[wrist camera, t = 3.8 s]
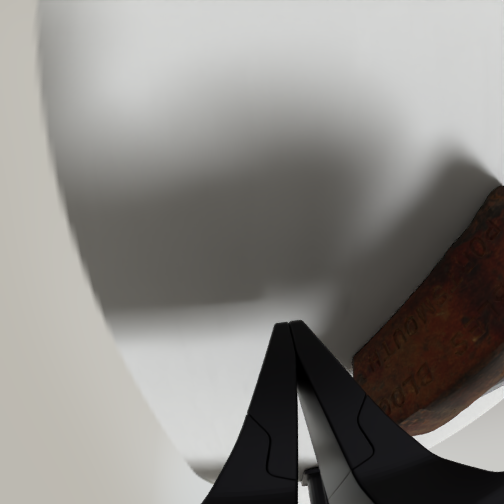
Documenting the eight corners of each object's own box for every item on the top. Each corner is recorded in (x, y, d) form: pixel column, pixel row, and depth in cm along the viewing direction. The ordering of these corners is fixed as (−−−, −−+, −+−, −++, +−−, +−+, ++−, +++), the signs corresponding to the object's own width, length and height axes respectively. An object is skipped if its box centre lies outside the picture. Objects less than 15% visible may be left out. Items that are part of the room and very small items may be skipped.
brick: (492, 171, 8) (581, 240, 4) (526, 217, 9) (591, 280, 6) (338, 362, 13) (362, 452, 9) (391, 372, 15) (419, 446, 11)
